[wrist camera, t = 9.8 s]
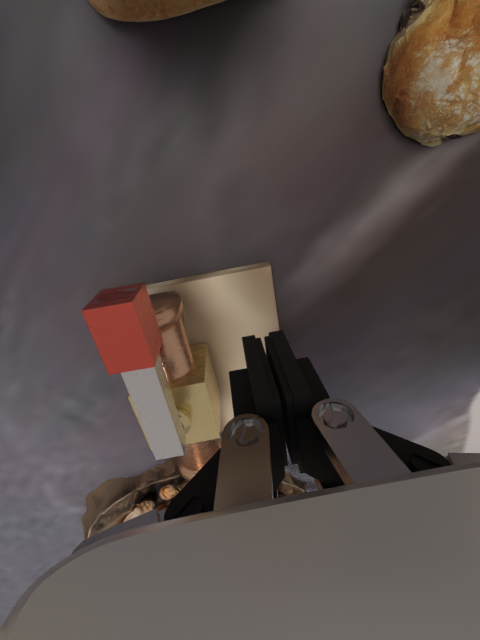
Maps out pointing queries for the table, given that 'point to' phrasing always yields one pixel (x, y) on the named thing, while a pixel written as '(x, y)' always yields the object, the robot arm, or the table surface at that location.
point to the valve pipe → (188, 384)
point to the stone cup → (148, 8)
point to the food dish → (148, 496)
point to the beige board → (226, 317)
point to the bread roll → (435, 71)
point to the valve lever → (137, 361)
